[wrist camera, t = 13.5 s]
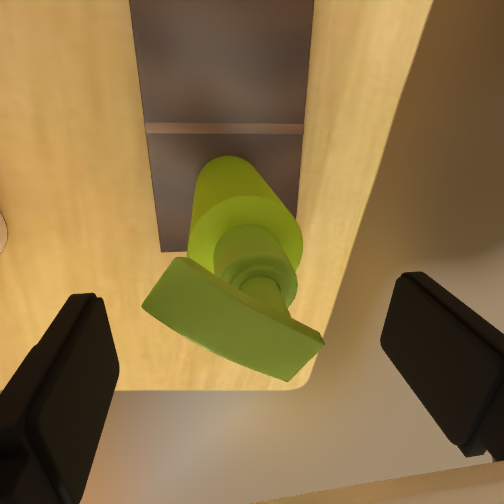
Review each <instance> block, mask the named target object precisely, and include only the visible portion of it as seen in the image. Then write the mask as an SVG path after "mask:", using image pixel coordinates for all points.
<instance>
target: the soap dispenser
mask: <svg viewBox="0 0 504 504" xmlns="http://www.w3.org/2000/svg"><path fill="white" fill-rule="evenodd" d="M302 251H303V239H302V233H301V230H300V227H299V225H298V223H297V221H296V220H295V218H294V217H293V215H292V214H291V213H290V212H289V210H288V209H287V208H286V207H285V205H284V204H283V203H282V202H281V200H280V199H279V198H278V197H277V195H276V194H275V193H274V192H273V190H272V189H271V188H270V187H269V186H268V184H267V183H266V182H265V181H264V179H263V178H262V177H261V176H260V174H259V173H258V172H257V171H256V169H255V168H254V167H253V166H252V165H251V164H250V163H249V162H247V161H246V160H244V159H242V158H239V157H236V156H221V157H218V158H215V159H213V160H211V161H210V162H208V163H207V164H206V165H205V166H204V167H203V168H202V170H201V171H200V173H199V175H198V178H197V181H196V187H195V195H194V202H193V210H192V217H191V225H190V233H189V240H188V258H185V257H176V258H175V259H174V260H173V261H172V262H171V264H170V265H169V267H168V268H167V269H166V271H165V272H164V274H163V275H162V276H161V278H160V279H159V281H158V282H157V283H156V285H155V286H154V288H153V289H152V291H151V292H150V294H149V295H148V296H147V298H146V299H145V301H144V302H143V304H142V308H143V309H144V310H145V311H146V312H148V313H149V314H150V315H152V316H153V317H155V318H156V319H158V320H159V321H161V322H162V323H164V324H165V325H167V326H168V327H170V328H171V329H173V330H174V331H176V332H177V333H179V334H181V335H182V336H184V337H186V338H187V339H189V340H191V341H192V342H194V343H196V344H198V345H200V346H201V347H203V348H205V349H207V350H209V351H211V352H213V353H215V354H217V355H219V356H222V357H224V358H226V359H228V360H230V361H233V362H235V363H238V364H240V365H243V366H245V367H248V368H250V369H253V370H255V371H258V372H261V373H263V374H266V375H269V376H272V377H274V378H277V379H280V380H283V381H286V382H288V381H290V380H291V379H292V378H293V377H294V376H295V375H296V374H297V372H298V371H299V370H300V369H301V368H302V367H303V366H304V365H305V364H306V363H307V362H308V361H309V360H310V359H311V358H312V357H313V356H314V355H315V354H316V353H317V352H318V351H319V350H320V349H321V348H322V347H323V346H324V345H325V343H324V341H323V339H322V337H321V335H320V333H319V332H318V331H316V330H314V329H312V328H310V327H308V326H306V325H304V324H302V323H300V322H298V321H296V320H294V319H293V318H291V316H290V313H289V311H288V307H289V306H290V305H291V303H292V302H293V300H294V298H295V296H296V292H297V286H298V283H297V276H296V273H295V271H296V270H297V268H298V265H299V263H300V260H301V257H302Z"/></svg>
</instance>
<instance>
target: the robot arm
mask: <svg viewBox="0 0 504 504" xmlns="http://www.w3.org/2000/svg"><path fill="white" fill-rule="evenodd" d="M380 342H381V346H382V349H383V350H384V351H385V353H386V354H387V356H388V357H389V358H390V360H391V361H392V362H393V364H394V365H395V367H396V368H397V369H398V371H399V372H400V373H401V375H402V376H403V378H404V379H405V380H406V382H407V383H408V385H409V386H410V387H411V389H412V390H413V391H414V393H415V394H416V395H417V397H418V398H419V400H420V401H421V402H422V404H423V405H424V406H425V408H426V409H427V411H428V412H429V413H430V415H431V416H432V417H433V419H434V420H435V422H436V423H437V424H438V426H439V427H440V428H441V430H442V431H443V432H444V434H445V435H446V437H447V438H448V439H449V440H450V442H452V443H453V444H455V445H457V446H458V448H459V449H460V450H461V452H462V453H463V454H464V456H465V457H472V456H478V455H483V454H484V453H485V451H486V450H488V452H489V453H490V454H491V455H492V457H493V458H492V459H493V463H487V464H481V465H475V466H468V467H463V468H457V469H450V470H444V471H438V472H432V473H426V474H420V475H414V476H408V477H402V478H396V479H390V480H385V481H378V482H373V483H367V484H360V485H355V486H349V487H344V488H337V489H331V490H325V491H319V492H313V493H308V494H302V495H296V496H290V497H284V498H279V499H273V500H267V501H261V502H256V503H251V504H504V334H503V333H501V332H500V331H499V330H498V329H496V328H495V327H494V326H493V325H491V324H490V323H488V322H487V321H486V320H485V319H483V318H482V317H481V316H480V315H478V314H477V313H476V312H474V311H473V310H472V309H471V308H469V307H468V306H467V305H465V304H464V303H463V302H461V301H460V300H459V299H458V298H456V297H455V296H454V295H452V294H451V293H450V292H448V291H447V290H446V289H445V288H443V287H442V286H441V285H439V284H438V283H437V282H435V281H434V280H433V279H432V278H430V277H429V276H428V275H426V274H425V273H423V272H406V273H403V274H402V275H401V277H399V278H398V279H397V280H396V283H395V287H394V290H393V294H392V298H391V302H390V305H389V309H388V312H387V316H386V319H385V323H384V327H383V331H382V334H381V339H380ZM118 377H119V361H118V357H117V353H116V349H115V345H114V341H113V337H112V333H111V329H110V325H109V321H108V317H107V313H106V309H105V305H104V301H103V299H102V298H101V297H98V298H97V297H96V295H95V294H94V293H84V294H72V295H71V296H70V297H69V298H68V300H67V301H66V303H65V304H64V305H63V307H62V308H61V310H60V311H59V313H58V314H57V316H56V317H55V319H54V320H53V322H52V323H51V325H50V326H49V328H48V329H47V331H46V332H45V334H44V335H43V337H42V338H41V340H40V341H39V343H38V344H37V345H35V346H34V347H33V348H32V349H31V350H30V352H29V353H28V355H27V356H26V357H25V359H24V360H23V362H22V363H21V365H20V366H19V368H18V369H17V371H16V372H15V374H14V375H13V376H12V378H11V379H10V381H9V382H8V384H7V385H6V387H5V388H4V390H3V391H2V393H1V394H0V504H79V503H80V501H81V499H82V496H83V493H84V490H85V486H86V483H87V480H88V476H89V473H90V470H91V467H92V463H93V460H94V456H95V453H96V450H97V447H98V443H99V440H100V437H101V433H102V430H103V427H104V423H105V420H106V417H107V413H108V410H109V407H110V403H111V400H112V397H113V393H114V390H115V387H116V383H117V380H118Z"/></svg>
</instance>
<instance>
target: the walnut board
mask: <svg viewBox="0 0 504 504" xmlns="http://www.w3.org/2000/svg"><path fill="white" fill-rule="evenodd" d="M129 4H130V12H131V20H132V28H133V36H134V44H135V52H136V59H137V67H138V75H139V83H140V91H141V99H142V106H143V114H144V124H145V132H146V138H147V146H148V153H149V161H150V169H151V177H152V185H153V193H154V200H155V208H156V216H157V224H158V232H159V240H160V248H161V252H181V251H188V240H189V233H190V225H191V217H192V210H193V202H194V195H195V187H196V181H197V178H198V175H199V173H200V171H201V170H202V168H203V167H204V166H205V165H206V164H207V163H208V162H210V161H211V160H213V159H215V158H218V157H221V156H236V157H239V158H242V159H244V160H246V161H247V162H249V163H250V164H251V165H252V166H253V167H254V168H255V169H256V171H257V172H258V173H259V174H260V176H261V177H262V178H263V179H264V181H265V182H266V183H267V184H268V186H269V187H270V188H271V189H272V190H273V192H274V193H275V194H276V195H277V197H278V198H279V199H280V200H281V202H282V203H283V204H284V205H285V207H286V208H287V209H288V210H289V212H290V213H291V214H292V215H293V217H294V218H295V220H296V212H297V200H298V188H299V176H300V164H301V152H302V141H303V134H304V117H305V105H306V93H307V81H308V69H309V57H310V45H311V33H312V21H313V9H314V0H129Z"/></svg>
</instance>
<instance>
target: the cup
mask: <svg viewBox="0 0 504 504" xmlns="http://www.w3.org/2000/svg"><path fill="white" fill-rule="evenodd" d="M6 241H7V228H6V224H5V221H4V219H3V217H2V215H1V213H0V253H1V252H2V250H3V249H4V247H5V244H6Z"/></svg>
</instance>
